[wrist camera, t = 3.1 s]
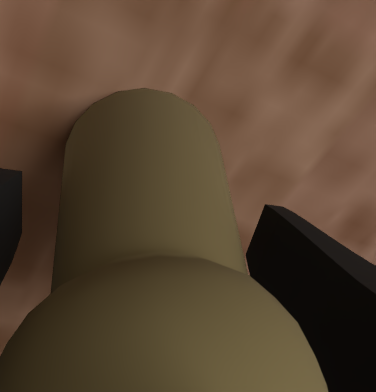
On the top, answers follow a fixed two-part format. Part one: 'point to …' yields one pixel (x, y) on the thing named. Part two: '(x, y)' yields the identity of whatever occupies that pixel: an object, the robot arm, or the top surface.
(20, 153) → the top surface
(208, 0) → the top surface
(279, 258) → the robot arm
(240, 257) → the cork
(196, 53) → the top surface
